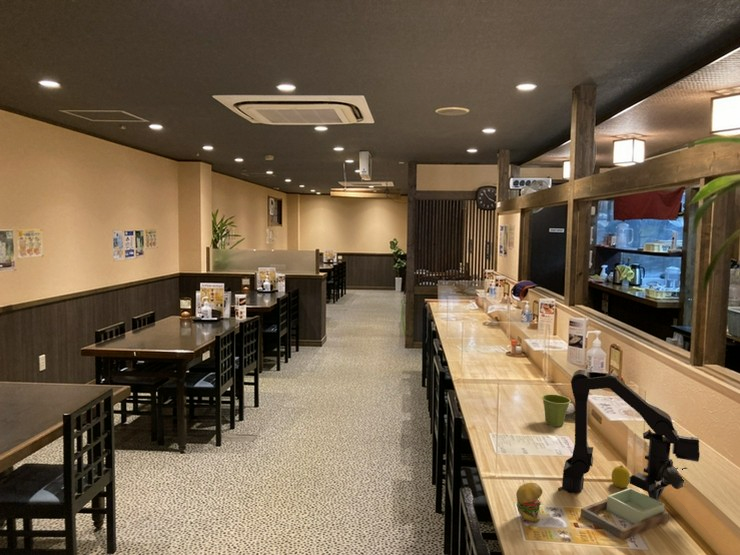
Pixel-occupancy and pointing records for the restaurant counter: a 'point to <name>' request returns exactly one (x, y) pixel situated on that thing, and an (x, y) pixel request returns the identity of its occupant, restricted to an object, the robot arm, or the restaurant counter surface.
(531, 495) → the hamburger
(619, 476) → the lemon
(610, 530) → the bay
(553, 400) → the plant pot
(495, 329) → the restaurant counter surface
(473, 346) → the restaurant counter surface
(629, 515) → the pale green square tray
